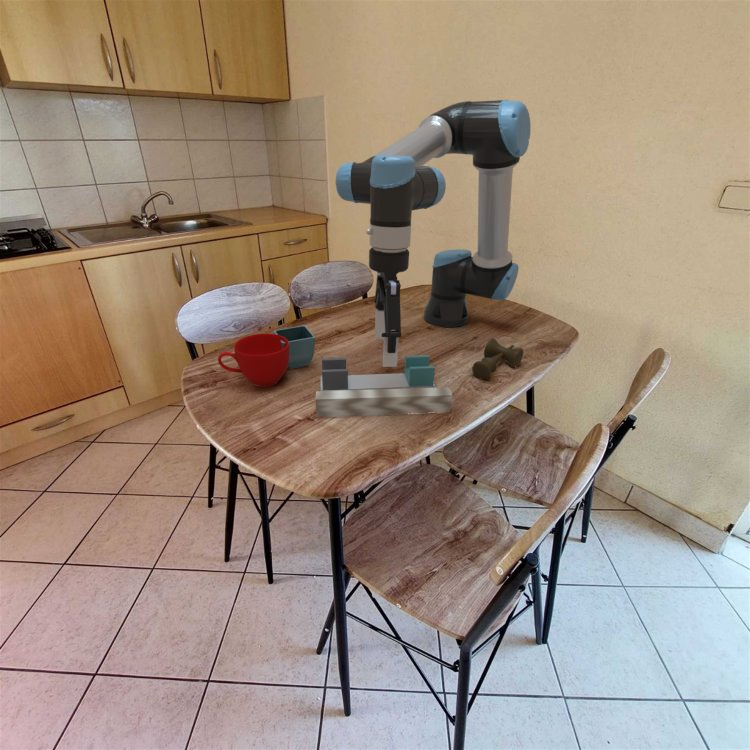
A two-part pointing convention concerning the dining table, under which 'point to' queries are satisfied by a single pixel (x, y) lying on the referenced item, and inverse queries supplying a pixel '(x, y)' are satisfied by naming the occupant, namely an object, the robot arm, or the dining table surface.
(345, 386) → the long grey teal holder
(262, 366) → the ceramic cup
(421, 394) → the grey white bar
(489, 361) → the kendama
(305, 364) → the flower pot
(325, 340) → the dining table surface
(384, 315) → the robot arm
